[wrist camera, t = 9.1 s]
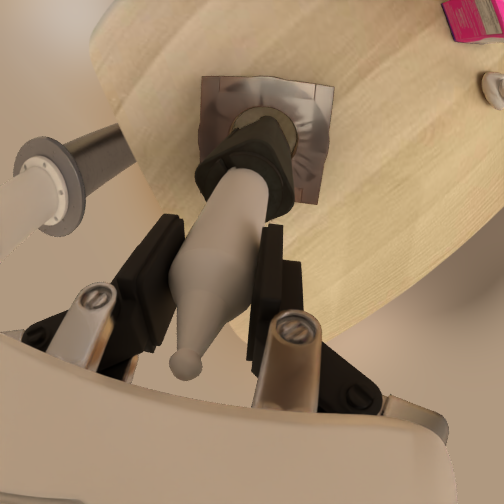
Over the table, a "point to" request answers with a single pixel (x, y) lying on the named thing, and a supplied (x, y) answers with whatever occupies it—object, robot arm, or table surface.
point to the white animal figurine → (494, 89)
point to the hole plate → (283, 99)
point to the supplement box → (476, 20)
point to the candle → (227, 236)
